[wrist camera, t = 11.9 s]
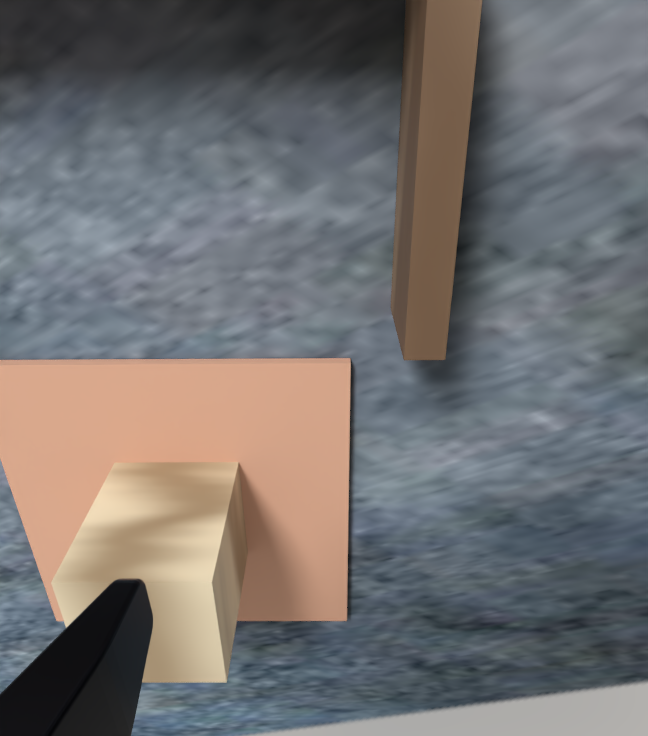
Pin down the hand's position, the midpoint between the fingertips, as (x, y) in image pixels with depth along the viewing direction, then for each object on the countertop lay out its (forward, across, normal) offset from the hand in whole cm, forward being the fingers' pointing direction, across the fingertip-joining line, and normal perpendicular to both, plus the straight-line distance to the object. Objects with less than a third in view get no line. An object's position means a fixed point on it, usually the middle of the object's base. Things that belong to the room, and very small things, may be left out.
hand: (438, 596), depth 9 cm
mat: (+13, +8, +10) cm, 18 cm away
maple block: (+12, +8, +10) cm, 17 cm away
